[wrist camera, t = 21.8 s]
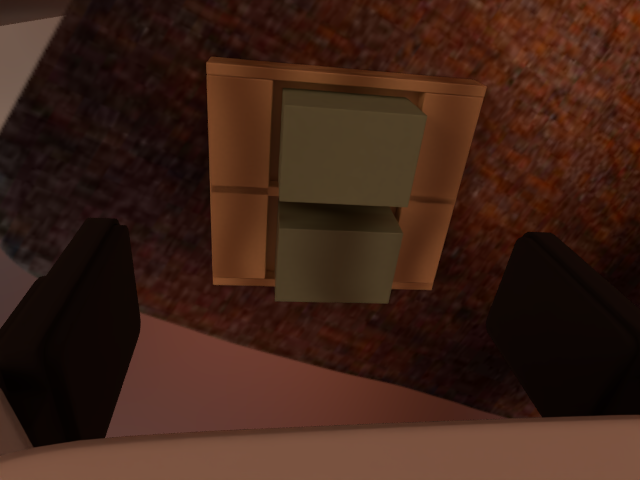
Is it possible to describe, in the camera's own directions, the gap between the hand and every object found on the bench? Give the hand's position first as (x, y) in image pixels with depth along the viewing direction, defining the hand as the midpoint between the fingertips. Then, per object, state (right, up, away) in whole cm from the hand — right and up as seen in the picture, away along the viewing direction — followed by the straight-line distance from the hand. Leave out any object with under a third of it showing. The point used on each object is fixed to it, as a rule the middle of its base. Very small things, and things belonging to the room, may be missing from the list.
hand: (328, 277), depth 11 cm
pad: (+1, +7, +15) cm, 17 cm away
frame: (+1, +5, +18) cm, 18 cm away
